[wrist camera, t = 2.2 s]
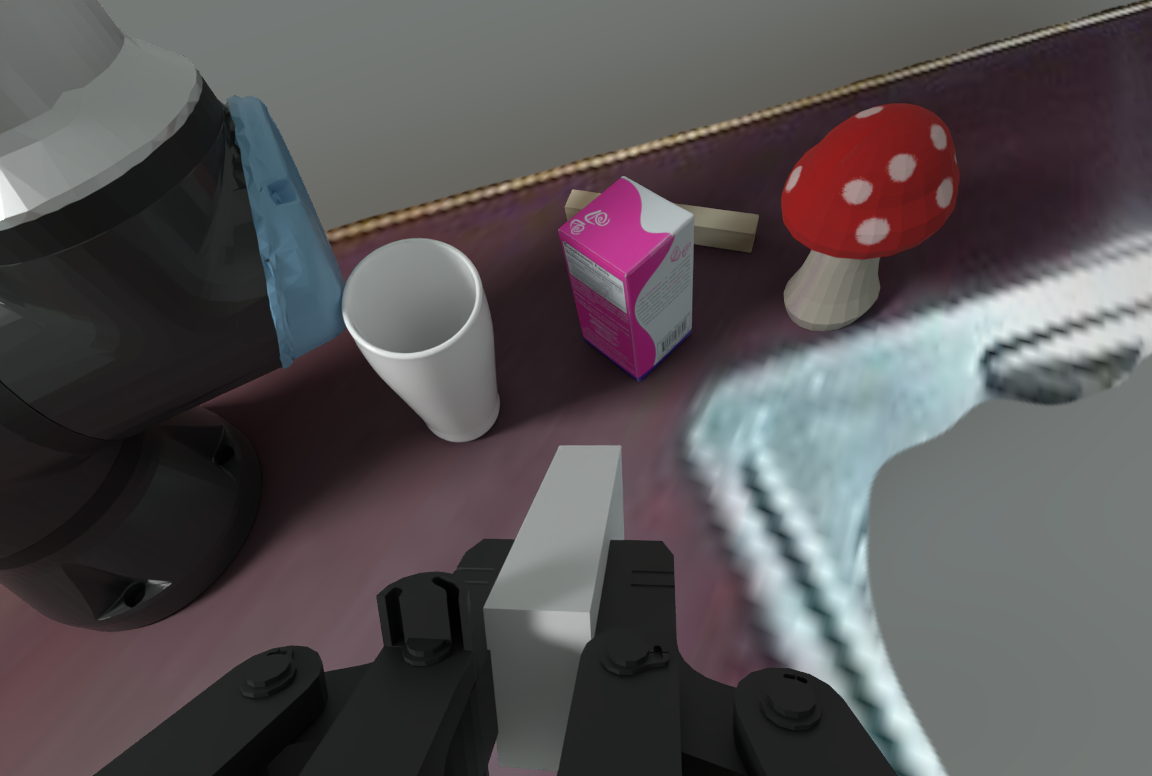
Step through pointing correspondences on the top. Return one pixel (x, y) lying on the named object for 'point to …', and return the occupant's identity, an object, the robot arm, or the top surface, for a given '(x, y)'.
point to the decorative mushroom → (864, 207)
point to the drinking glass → (427, 333)
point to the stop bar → (696, 223)
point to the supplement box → (631, 275)
